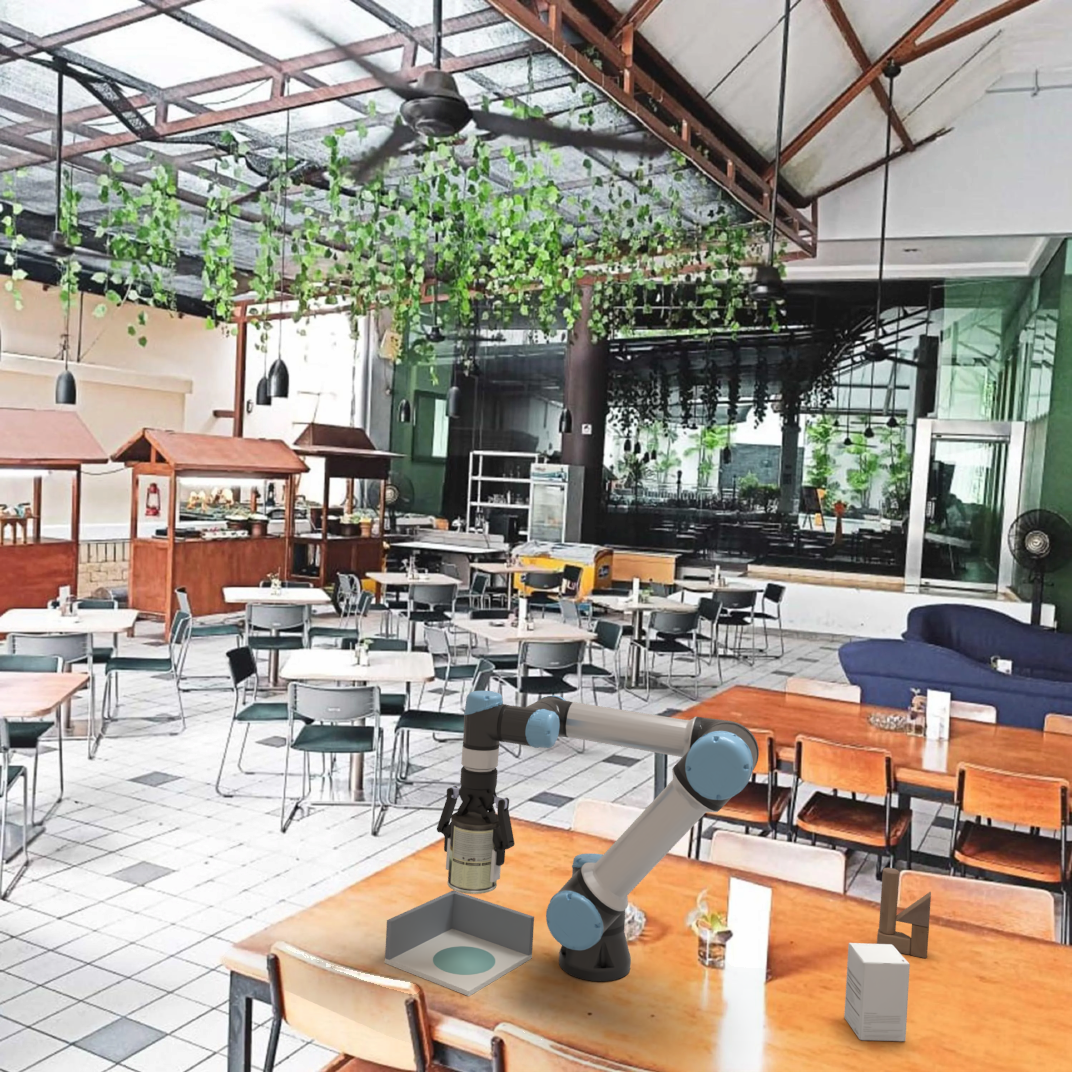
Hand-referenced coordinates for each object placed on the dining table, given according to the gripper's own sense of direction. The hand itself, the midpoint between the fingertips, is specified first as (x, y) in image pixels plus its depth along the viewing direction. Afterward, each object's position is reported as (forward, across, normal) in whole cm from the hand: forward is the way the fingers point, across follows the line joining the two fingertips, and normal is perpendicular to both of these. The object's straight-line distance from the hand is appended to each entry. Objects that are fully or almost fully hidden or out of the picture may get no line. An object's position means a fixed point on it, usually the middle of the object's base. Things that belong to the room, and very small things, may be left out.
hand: (472, 873), depth 209 cm
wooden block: (+19, -76, -66) cm, 102 cm away
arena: (+20, +3, -2) cm, 20 cm away
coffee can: (+2, 0, 0) cm, 2 cm away
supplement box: (+19, -77, -24) cm, 83 cm away
